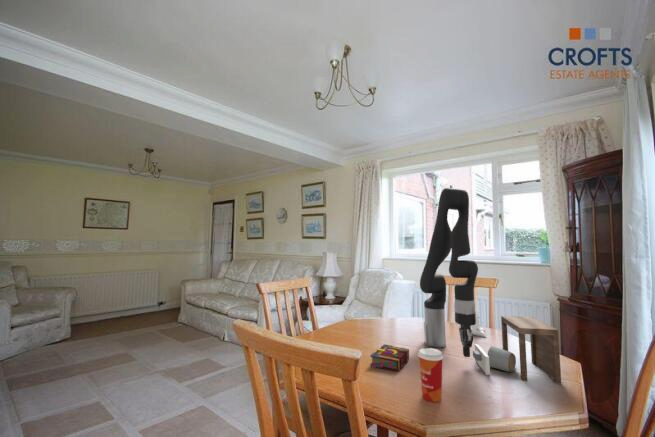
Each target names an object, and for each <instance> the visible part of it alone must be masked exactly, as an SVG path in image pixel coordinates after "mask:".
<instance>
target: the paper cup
mask: <svg viewBox="0 0 655 437" xmlns="http://www.w3.org/2000/svg"><path fill="white" fill-rule="evenodd" d="M417 356H418V360H419V371H420V372H419V373H420V375H419V376H420V384H421V395H422V398H423V399H424V400H425V401H427V402H429V401H431V402H430V403H439V402H440V400H441V401H442V390H443V388H442V387H443V383H442V382H443V360H444V355H443V352H442V351H441V350H439V349H437V348H433V347H430V348H429V347H426V348H424V347H421V348H420V349H419V350H418V353H417Z"/></svg>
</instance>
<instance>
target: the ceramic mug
mask: <svg viewBox="0 0 655 437" xmlns="http://www.w3.org/2000/svg"><path fill="white" fill-rule="evenodd" d="M488 348H489V349H488V351H487V355H488V356H489V365H490V368H493V369H496V370H500V371H503V372H507V373H512V372H514V371H515V370H516V365H517V358H516V355H515V354H514V353H513V352H511V351H509V350H508V351H506V350H503V348H500V347H497V346H493V345H492V346H490V347H488Z"/></svg>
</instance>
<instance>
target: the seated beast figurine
mask: <svg viewBox="0 0 655 437" xmlns="http://www.w3.org/2000/svg"><path fill="white" fill-rule="evenodd" d="M475 314H476V324H475V325H471V326H470V327H471V329H472V336H477V337H482V338H486V336H487V332H486V328H485V329H484V328H483V327H482V326H481V324H480V315H479V314H478V313H477V310H475Z"/></svg>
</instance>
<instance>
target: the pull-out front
mask: <svg viewBox="0 0 655 437" xmlns="http://www.w3.org/2000/svg"><path fill="white" fill-rule="evenodd" d="M472 357H473V358H474V360H475V362H476V364H478V365H479V367H480V369H481V370H482V371H483V373H485V375H486V376H490V375H491V372H490V371H491V370H490V369H491V367H490V365H489V356H488V353H486V351H485V350H484V349H483V348H482V347H481V345H479V344H478V343H474V350H472Z"/></svg>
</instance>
